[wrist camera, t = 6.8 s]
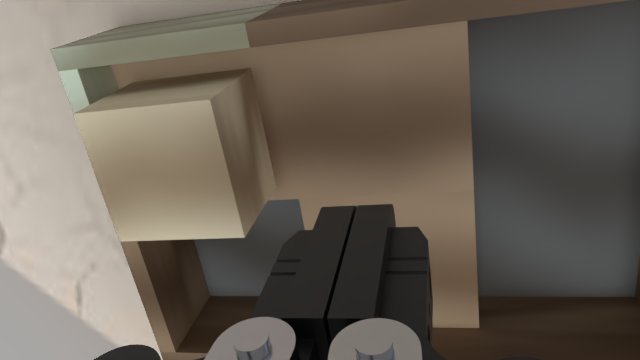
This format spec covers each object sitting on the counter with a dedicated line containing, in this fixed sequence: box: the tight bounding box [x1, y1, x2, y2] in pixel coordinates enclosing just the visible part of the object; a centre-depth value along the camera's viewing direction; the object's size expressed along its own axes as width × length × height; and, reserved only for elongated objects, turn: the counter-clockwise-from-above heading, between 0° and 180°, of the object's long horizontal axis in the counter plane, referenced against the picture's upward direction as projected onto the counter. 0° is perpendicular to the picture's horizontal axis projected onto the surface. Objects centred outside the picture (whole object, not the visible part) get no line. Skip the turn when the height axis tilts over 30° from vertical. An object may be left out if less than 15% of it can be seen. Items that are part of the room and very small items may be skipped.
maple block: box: [73, 68, 276, 242], centre depth 20 cm, size 5×5×4 cm
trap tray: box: [51, 0, 640, 360], centre depth 21 cm, size 15×22×4 cm
